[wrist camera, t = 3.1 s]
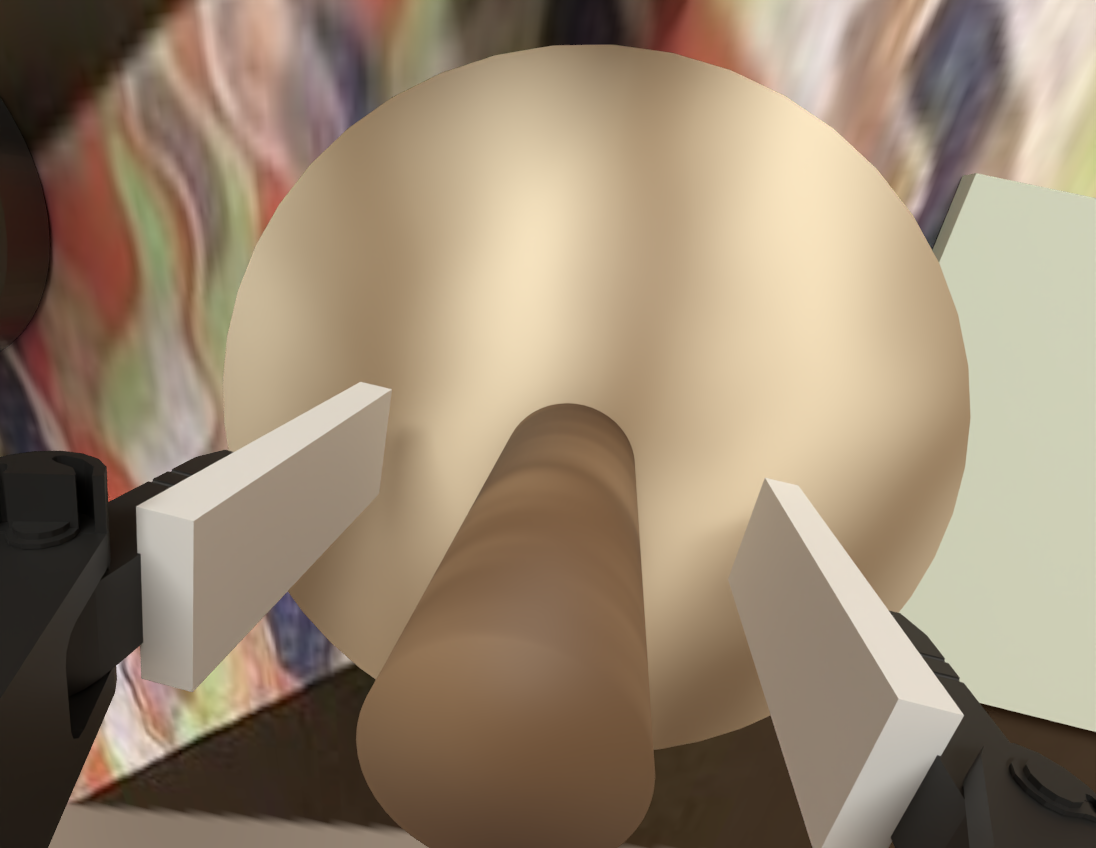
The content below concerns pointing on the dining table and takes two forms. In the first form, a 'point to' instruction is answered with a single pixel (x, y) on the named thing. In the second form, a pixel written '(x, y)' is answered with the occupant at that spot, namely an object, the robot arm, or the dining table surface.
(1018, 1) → the dining table surface
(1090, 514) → the mat
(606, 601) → the lid
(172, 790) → the dining table surface
